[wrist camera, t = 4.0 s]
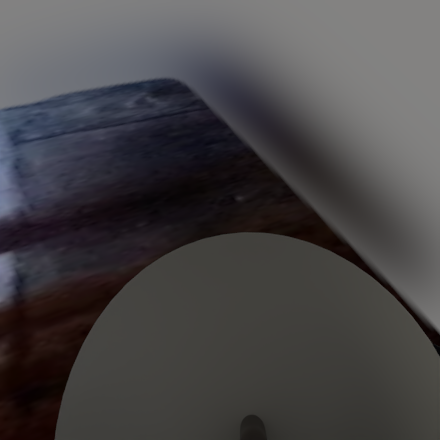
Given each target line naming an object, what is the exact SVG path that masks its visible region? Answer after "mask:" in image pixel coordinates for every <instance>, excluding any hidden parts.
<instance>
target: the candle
mask: <svg viewBox="0 0 440 440" xmlns="http://www.w3.org/2000/svg"><path fill="white" fill-rule="evenodd" d="M55 440H440V356H439V355H438V353H437V351H436V350H435V348H434V346H433V344H432V343H431V341H430V340H429V339H428V337H427V336H426V334H425V333H424V332H423V330H422V329H421V328H420V326H419V325H418V324H417V322H416V321H415V320H414V318H413V317H412V316H411V315H410V314H409V313H408V311H407V310H406V309H405V308H404V307H403V306H402V305H401V304H400V303H399V302H398V300H397V299H396V298H395V297H394V296H393V295H392V294H391V293H389V292H388V291H387V290H386V289H385V288H384V287H383V286H382V285H380V284H379V283H378V282H377V281H376V280H375V279H374V278H372V277H371V276H369V275H368V274H367V273H365V272H364V271H362V270H361V269H360V268H358V267H357V266H355V265H354V264H353V263H351V262H349V261H347V260H345V259H344V258H342V257H340V256H338V255H336V254H335V253H333V252H331V251H329V250H326V249H324V248H321V247H319V246H316V245H314V244H312V243H309V242H306V241H302V240H298V239H295V238H291V237H288V236H282V235H275V234H269V233H247V232H243V233H233V234H223V235H218V236H214V237H209V238H205V239H201V240H198V241H196V242H193V243H190V244H187V245H185V246H182V247H180V248H178V249H176V250H174V251H172V252H170V253H168V254H166V255H164V256H162V257H161V258H159V259H158V260H156V261H155V262H153V263H152V264H150V265H149V266H148V267H146V268H145V269H143V270H142V271H141V272H140V273H139V274H138V275H136V276H135V277H134V278H133V279H132V280H131V281H129V282H128V283H127V284H126V285H125V286H124V287H123V288H122V290H121V291H120V292H119V293H118V294H117V295H116V296H115V297H114V298H113V299H112V300H111V302H110V303H109V304H108V306H107V307H106V308H105V310H104V311H103V312H102V314H101V315H100V317H99V318H98V319H97V321H96V322H95V324H94V326H93V327H92V329H91V331H90V333H89V334H88V336H87V338H86V339H85V341H84V343H83V345H82V347H81V350H80V352H79V354H78V356H77V358H76V361H75V363H74V365H73V367H72V370H71V373H70V376H69V379H68V382H67V385H66V388H65V391H64V394H63V398H62V403H61V407H60V412H59V416H58V421H57V425H56V434H55Z"/></svg>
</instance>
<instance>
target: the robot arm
mask: <svg viewBox="0 0 440 440" xmlns="http://www.w3.org/2000/svg"><path fill="white" fill-rule="evenodd" d="M433 346H434V348H435V350H436V351H437V353H438V355H439V356H440V347H439V346H437V345H435V344H433Z"/></svg>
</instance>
